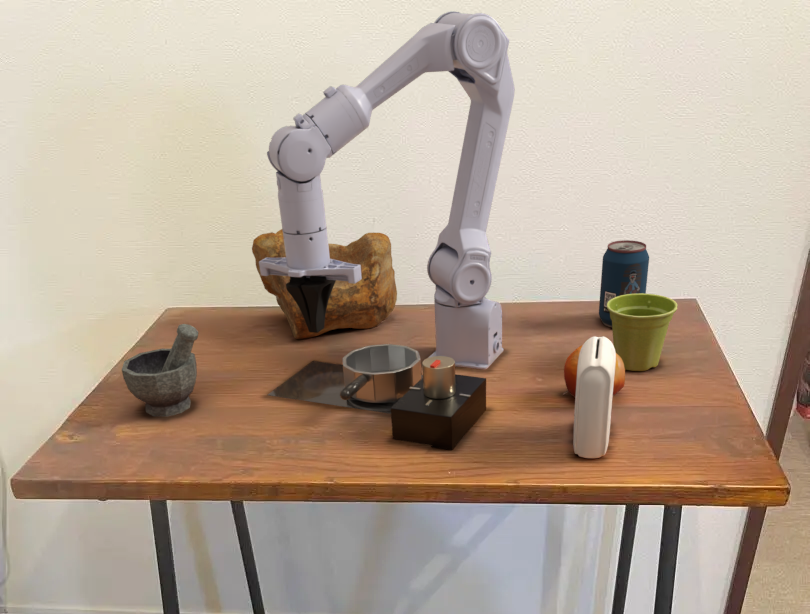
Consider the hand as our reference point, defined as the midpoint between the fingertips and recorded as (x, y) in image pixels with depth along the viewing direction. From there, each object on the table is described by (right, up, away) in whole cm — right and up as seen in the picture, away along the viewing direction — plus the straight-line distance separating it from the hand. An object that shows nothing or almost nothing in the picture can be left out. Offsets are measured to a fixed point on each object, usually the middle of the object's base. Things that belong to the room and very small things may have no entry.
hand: (316, 330), depth 121 cm
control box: (+17, -14, -9) cm, 24 cm away
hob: (+5, -8, +2) cm, 10 cm away
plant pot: (+45, -4, +4) cm, 46 cm away
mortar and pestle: (-20, -11, 0) cm, 23 cm away
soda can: (+47, +6, +19) cm, 50 cm away
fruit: (+37, -10, -4) cm, 39 cm away
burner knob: (+17, -10, -11) cm, 23 cm away
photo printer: (+35, -17, -14) cm, 41 cm away
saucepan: (+8, -10, -2) cm, 13 cm away
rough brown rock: (-1, +6, +23) cm, 24 cm away
